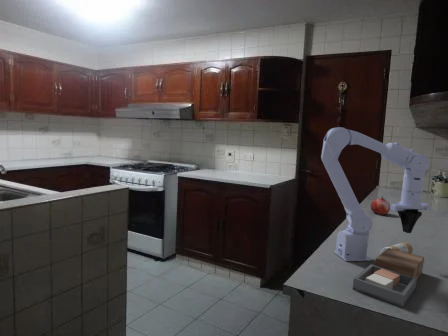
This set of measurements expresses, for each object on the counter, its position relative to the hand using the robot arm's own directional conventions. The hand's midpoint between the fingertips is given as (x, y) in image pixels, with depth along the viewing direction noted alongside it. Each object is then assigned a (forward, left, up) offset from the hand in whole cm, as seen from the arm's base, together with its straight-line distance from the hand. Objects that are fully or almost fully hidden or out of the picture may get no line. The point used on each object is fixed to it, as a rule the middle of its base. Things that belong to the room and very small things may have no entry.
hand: (406, 232), depth 107 cm
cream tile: (-21, -17, -7) cm, 28 cm away
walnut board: (-8, -8, -10) cm, 15 cm away
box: (-19, -17, -10) cm, 27 cm away
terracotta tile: (-17, -14, -10) cm, 24 cm away
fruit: (+36, +64, -11) cm, 74 cm away
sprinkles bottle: (+7, +7, -8) cm, 13 cm away
